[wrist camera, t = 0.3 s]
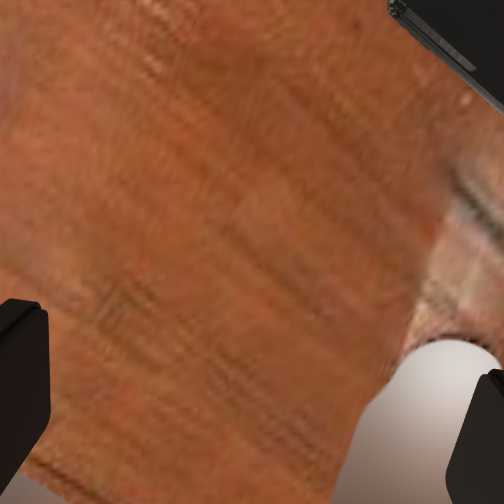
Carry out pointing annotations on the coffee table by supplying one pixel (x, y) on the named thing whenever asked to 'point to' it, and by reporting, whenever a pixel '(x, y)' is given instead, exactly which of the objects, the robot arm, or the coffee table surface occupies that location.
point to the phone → (461, 39)
